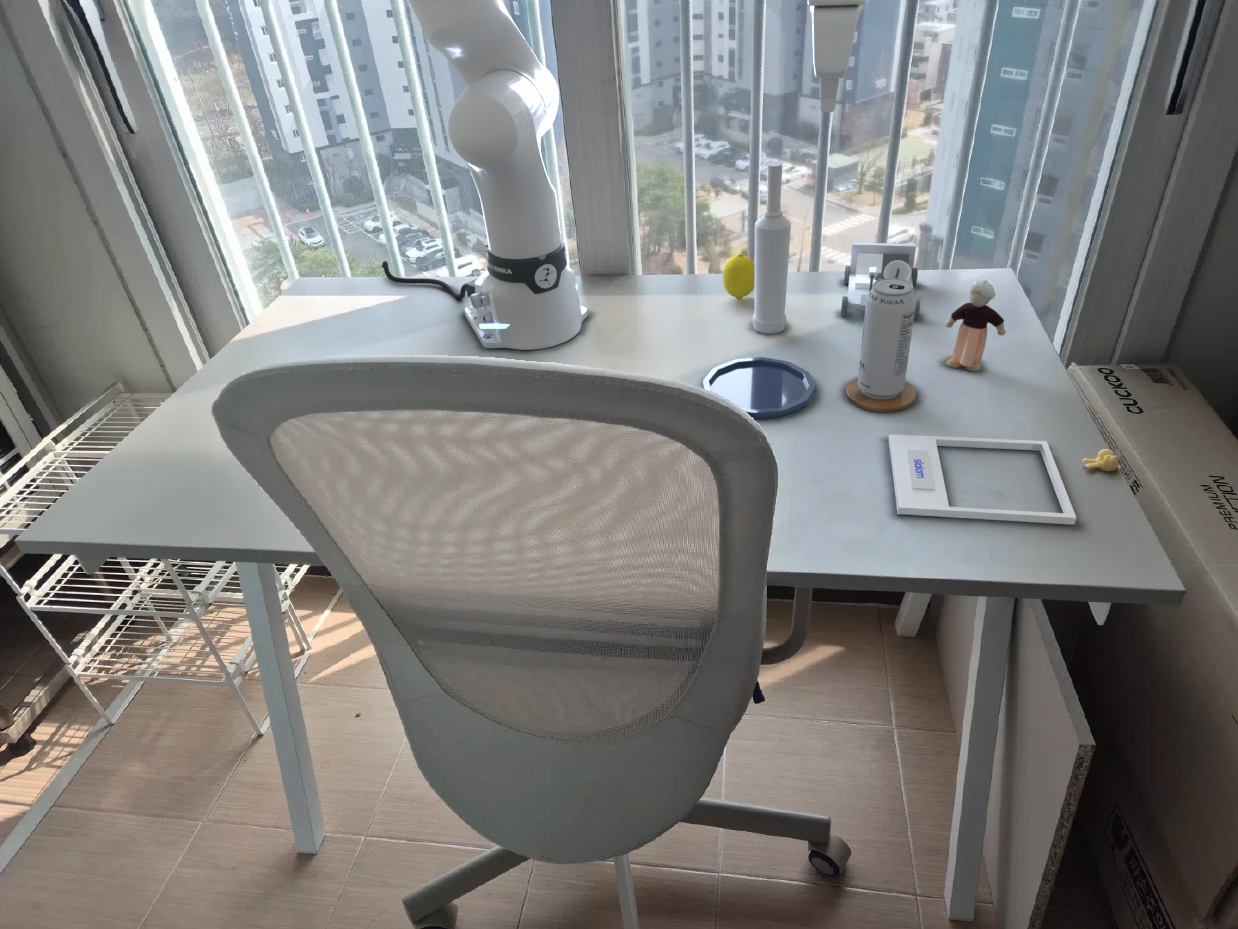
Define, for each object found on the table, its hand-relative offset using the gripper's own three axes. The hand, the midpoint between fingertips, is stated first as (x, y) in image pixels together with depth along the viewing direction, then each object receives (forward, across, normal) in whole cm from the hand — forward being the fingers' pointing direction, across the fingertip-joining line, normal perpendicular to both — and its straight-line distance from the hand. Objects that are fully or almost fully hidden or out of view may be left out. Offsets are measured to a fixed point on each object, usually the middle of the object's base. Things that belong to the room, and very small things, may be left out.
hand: (828, 101), depth 110 cm
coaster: (+34, +16, +10) cm, 38 cm away
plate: (+34, +16, -6) cm, 38 cm away
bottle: (+34, -3, -6) cm, 35 cm away
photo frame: (+34, +34, +20) cm, 52 cm away
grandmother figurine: (+34, +6, +22) cm, 41 cm away
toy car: (+34, -14, +10) cm, 38 cm away
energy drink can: (+33, +15, +10) cm, 38 cm away
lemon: (+34, -13, -12) cm, 39 cm away
